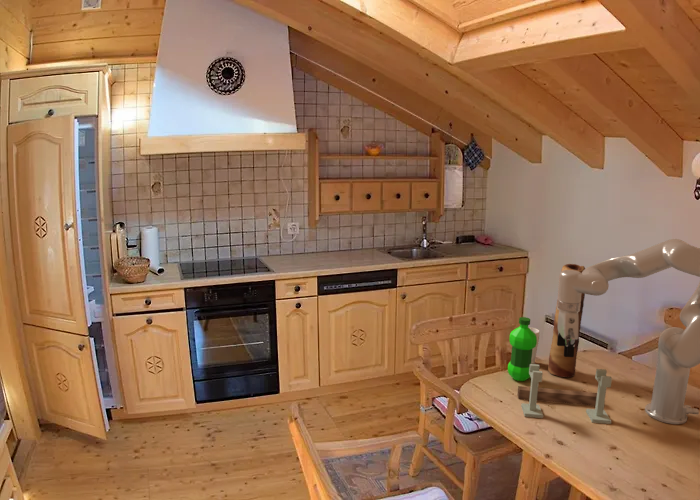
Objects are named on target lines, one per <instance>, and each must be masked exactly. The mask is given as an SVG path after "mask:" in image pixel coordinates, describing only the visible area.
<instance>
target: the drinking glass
mask: <svg viewBox="0 0 700 500" xmlns="http://www.w3.org/2000/svg"><path fill="white" fill-rule="evenodd" d="M528 328H530V329H531V330H532V331H533V332H534V333H535V334H536V337H537V344H536V347H534V348H533V349H532V359H531V364H536V356H537V352H538V347H539V341H540V330H539V329H537V328H536V327H531V326H528Z"/></svg>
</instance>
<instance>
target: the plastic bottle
mask: <svg viewBox="0 0 700 500" xmlns="http://www.w3.org/2000/svg"><path fill="white" fill-rule="evenodd" d="M518 324H519V326H518V327H516V328H514V329H513V330H511V331H510V334H509V344H510V345H511V355H510V361H509V362H508V364H507V373H508V375H509V376H510V377H511V378H512V379H513V380H514V381H517V382H525V381H527V380H528V379H531V376H530V374H529V368H530V364H531V359H532V349H533V348H534V347H536V344H537V337H536V334H535V333H534V332H533V331H532V330H531V329H530V328H528V327H529V325H531V318H529V317H526V316H521V317H518Z"/></svg>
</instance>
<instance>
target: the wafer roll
mask: <svg viewBox="0 0 700 500" xmlns="http://www.w3.org/2000/svg"><path fill="white" fill-rule="evenodd" d="M585 269H586V268H585V266H584V265H579V264H576V263H566V264H564V265H562V267H561V271H563V270H575V271H579V272H581V273H582V272H583V271H584V270H585ZM561 271H560V272H561ZM585 295H586V294H584V293H582V294H581V305H580V311H579V312H578V318H579V326H578V339H577V340H575V347H574V357H564V346H558V345H557V338H558V315H559V310H558V309H557V305H556V307H555V313H554V319H553V320H554V321H553V328H552V329H553V331H552V333H553V334H552V340H551V344H550V350H549V357H548V367H547V370H548V372H549V373H550V374H551V375H552V376H556V377H561V378H573V377H574V376H575V373H576V366H577V357H578V356H577V355H578V351H579V344H580V331H581V328H582V327H581V326H582V317H583V310H584V306H585V305H584V304H585V303H584V302H585ZM557 300H558V298H557ZM557 300H556V301H557ZM567 341H568V342H569V341H570V340H567Z"/></svg>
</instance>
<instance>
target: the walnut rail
mask: <svg viewBox="0 0 700 500" xmlns="http://www.w3.org/2000/svg"><path fill="white" fill-rule="evenodd" d="M517 386H518V387H517V397H518V400H524V399H525V400H527V401H528V400H529V398H530V388H531V386H522V385H517ZM596 398H597V392H590V391H589V392H588V391H578V390H569V389H558V388H557V389H555V388H543V387H538V393H537V402H547V403H548V402H549V403H557V404H568V405H570V404H571V405H580V406H589V407H590V406H591V407H595V406H596Z"/></svg>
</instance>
